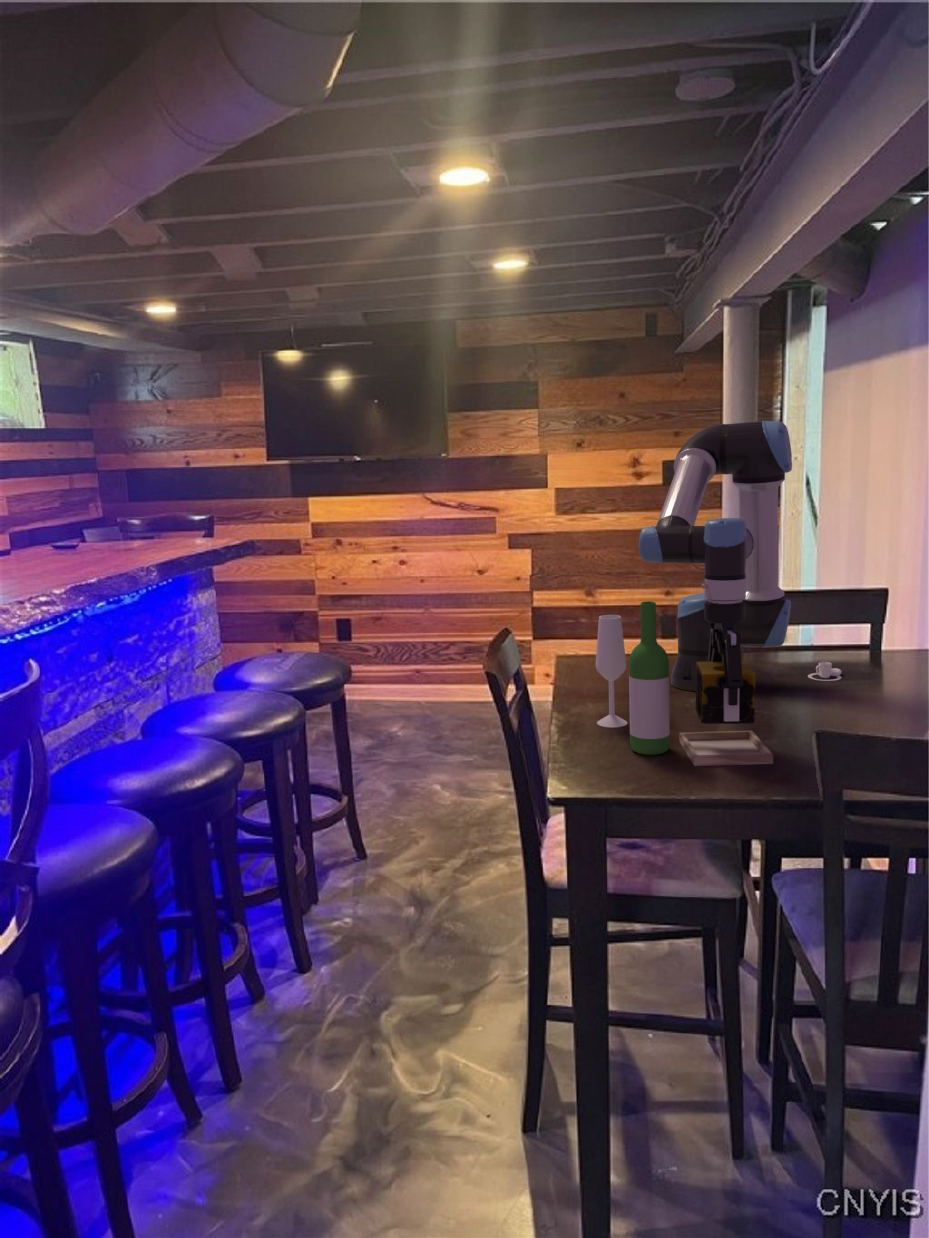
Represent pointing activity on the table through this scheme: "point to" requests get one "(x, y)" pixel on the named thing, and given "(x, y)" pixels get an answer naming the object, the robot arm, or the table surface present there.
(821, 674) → the teacup and saucer
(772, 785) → the table surface
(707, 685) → the candle
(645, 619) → the wine bottle
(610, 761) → the table surface
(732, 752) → the slot frame
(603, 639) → the champagne flute
